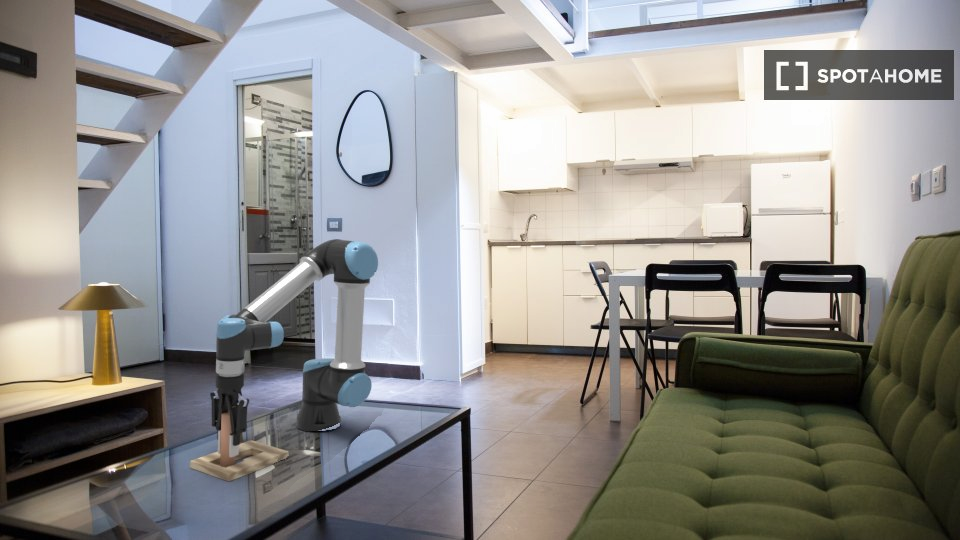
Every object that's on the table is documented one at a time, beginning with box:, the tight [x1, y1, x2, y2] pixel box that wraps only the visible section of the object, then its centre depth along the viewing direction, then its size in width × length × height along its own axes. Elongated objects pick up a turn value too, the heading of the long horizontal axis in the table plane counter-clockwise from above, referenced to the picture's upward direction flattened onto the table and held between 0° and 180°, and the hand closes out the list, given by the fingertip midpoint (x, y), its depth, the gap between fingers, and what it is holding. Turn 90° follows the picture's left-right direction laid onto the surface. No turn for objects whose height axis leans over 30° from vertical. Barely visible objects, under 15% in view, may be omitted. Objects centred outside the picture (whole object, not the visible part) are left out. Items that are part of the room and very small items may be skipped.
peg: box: [219, 412, 236, 468], centre depth 194 cm, size 4×4×15 cm
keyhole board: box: [189, 439, 290, 482], centre depth 199 cm, size 22×16×2 cm
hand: (228, 453), depth 194 cm, fingers closed on peg, 4 cm apart
